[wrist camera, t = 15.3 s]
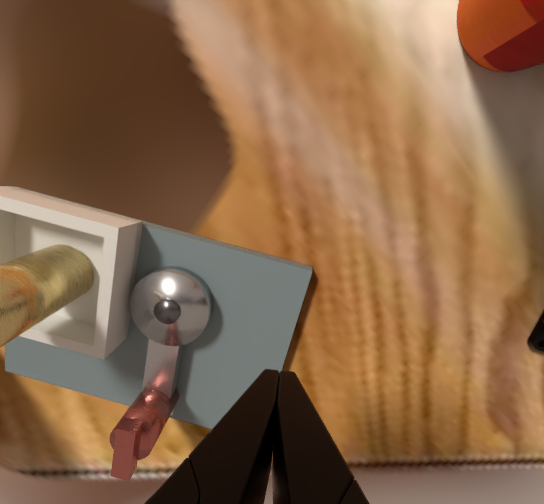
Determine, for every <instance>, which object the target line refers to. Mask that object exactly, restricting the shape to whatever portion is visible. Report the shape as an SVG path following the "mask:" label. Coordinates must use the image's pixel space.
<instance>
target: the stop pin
mask: <svg viewBox="0 0 544 504" xmlns="http://www.w3.org/2000/svg"><path fill="white" fill-rule="evenodd" d="M93 281H94V273H93V269H92V266H91V264H90V263H89V261H88V260H87V258H86V257H85V256H84V255H83V254H82V253H81V252H80V251H78V250H77V249H75V248H73V247H71V246H68V245H64V244H55V245H52V246H49V247H46V248H43V249H40V250H37V251H35V252H32V253H29V254H26V255H23V256H20V257H18V258H15V259H12V260H9V261H6V262H4V263H1V264H0V347H2V346H3V345H5V344H6V343H8V342H10V341H11V340H13V339H14V338H16V337H18V336H19V335H21V334H22V333H24V332H25V331H27V330H29V329H30V328H32V327H33V326H35V325H36V324H38V323H40V322H41V321H43V320H44V319H46V318H47V317H49V316H51V315H52V314H54V313H55V312H57V311H58V310H60V309H62V308H63V307H65V306H66V305H68V304H69V303H71V302H73V301H74V300H76V299H77V298H79V297H80V296H82V295H84V294H85V293H87V292H88V291H89V290H90V289H91V287H92V285H93Z"/></svg>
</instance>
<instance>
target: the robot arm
mask: <svg viewBox="0 0 544 504" xmlns="http://www.w3.org/2000/svg"><path fill="white" fill-rule="evenodd" d="M540 340H541V341H540ZM528 341H529V344H530V345H531V346H532V347H534V348H535V349H537V350H540V351H544V313H543V315H542V316H541V318H540V320H539V322H538V324H537V325H536V327H535V329H534V331H533V332H532V334H531V336H530V338H529V340H528ZM539 341H540V342H539ZM538 342H539V343H538ZM273 444H274V446H273ZM272 455H273V461H272ZM271 463H272V480H273V504H369V502H368V500H367V499H366V497H365V495H364V493H363V491H362V490H361V488H360V487H359V484H358V483H357V481H356V480H354V476H353V474H352V472H351V470H350V469H349V467H348V465H347V463H346V462H345V460H344V458H343V456H342V455H341V453H340V451H339V449H338V448H337V446H336V444H335V442H334V441H333V439H332V437H331V435H330V433H329V432H328V430H327V428H326V426H325V425H324V423H323V421H322V419H321V418H320V416H319V414H318V412H317V411H316V409H315V407H314V405H313V404H312V402H311V400H310V398H309V396H308V395H307V393H306V391H305V389H304V388H303V386H302V384H301V382H300V381H299V379H298V377H297V375H296V374H295V372H292V371H280V373H279V371H278V370H273V369H264V370H263V371H262V373H261V374H260V375H259V376H258V377H257V378H256V379H255V381H254V382H253V383H252V384H251V385H250V386H249V387H248V389H247V390H246V391H245V392H244V393H243V394H242V395H241V397H240V398H239V399H238V400H237V401H236V402H235V403H234V405H233V406H232V407H231V408H230V409H229V410H228V411H227V413H226V414H225V415H224V416H223V417H222V418H221V419H220V421H219V422H218V423H217V424H216V425H215V426H214V427H213V429H212V430H211V431H210V432H209V433H208V434H207V435H206V437H205V438H204V439H203V440H202V441H201V442H200V443H199V444H198V446H197V447H196V448H195V449H194V450H193V451H192V452H191V454H190V455H189V458H186V459H185V460H184V461H183V462H182V464H181V465H180V466H179V467H178V468H177V469H176V471H175V472H174V473H173V474H172V475H171V476H170V477H169V478H168V479H167V480H166V481H165V483H164V484H163V485H162V486H161V487H160V488H159V489H158V490H157V491H156V492H155V494H153V495H152V496H151V497H150V498H149V499H148V500H147V501H146V502H145V503H144V504H264V500H265V495H266V489H267V484H268V480H269V475H270V469H271Z"/></svg>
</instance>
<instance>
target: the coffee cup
mask: <svg viewBox="0 0 544 504" xmlns="http://www.w3.org/2000/svg"><path fill="white" fill-rule="evenodd" d="M457 29H458V34H459V38H460V41H461V43H462V46H463V48H464V49H465V51H466V52H467V54H468V55H469V56H470V57H471V58H472V59H473V60H474V61H475V62H476V63H477V64H479V65H480V66H482V67H484V68H487V69H489V70H493V71H498V72H512V71H518V70H522V69H526V68H529V67H532V66H535V65H538V64H541V63H544V0H459V4H458V10H457Z"/></svg>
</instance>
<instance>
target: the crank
mask: <svg viewBox="0 0 544 504" xmlns="http://www.w3.org/2000/svg"><path fill="white" fill-rule="evenodd" d="M130 312H131V316H132V318H133V320H134V322H135V324H136V326H137V327H138V329H139V330H140V331H141V332H142V333H143V334H144V335H145V336H147V337H148V338H149V343H148V351H147V358H146V365H145V372H144V379H143V387H142V391H141V392H140V394H139V395H138V396H137V398H136V399H135V400H134V402H133V403H132V405H131V406H130V407H129V409H128V410H127V411H126V413H125V414H124V416H123V417H122V418H121V420H120V421H119V422H118V424H117V425H116V427H115V428H114V429H113V431H112V432H111V434H110V443H111V446H112V447H113V449H114V454H113V462H112V471H111V476H113V477H116V478H120V479H124V480H127V481H129V480H130V478H131V476H132V475H133V473H134V471H135V469H136V467H137V460H140V459H143V458H145V457H147V456H148V455H149V454H150V452H151V450H152V449H153V447H154V445H155V443H156V441H157V439H158V437H159V435H160V434H161V432H162V430H163V428H164V426H165V424H166V422H167V420H168V418H169V417H170V415H171V413H172V411H173V409H174V407H175V405H176V403H177V402H178V399H179V393H178V390H177V388H176V383H177V377H178V371H179V366H180V360H181V354H182V349H183V345H185V344H188V343H190V342H192V341H193V340H195V339H196V338H197V337H199V335H200V334H201V333H202V332H203V330H204V329H205V327H206V325H207V324H208V322H209V320H210V318H211V316H212V313H213V298H212V294H211V292H210V290H209V288H208V286H207V284H206V283H205V282H204V281H203V280H202V279H201V278H200V277H199V276H198V275H197V274H195V273H194V272H192V271H190V270H188V269H185V268H182V267H177V266H167V267H162V268H159V269H157V270H155V271H153V272H152V273H150V274H149V275H147V276H146V277H144V278H143V279H141V280H140V281H139V282H138V283H137V284H136V286H135V287H134V289H133V291H132V293H131V297H130Z"/></svg>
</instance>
